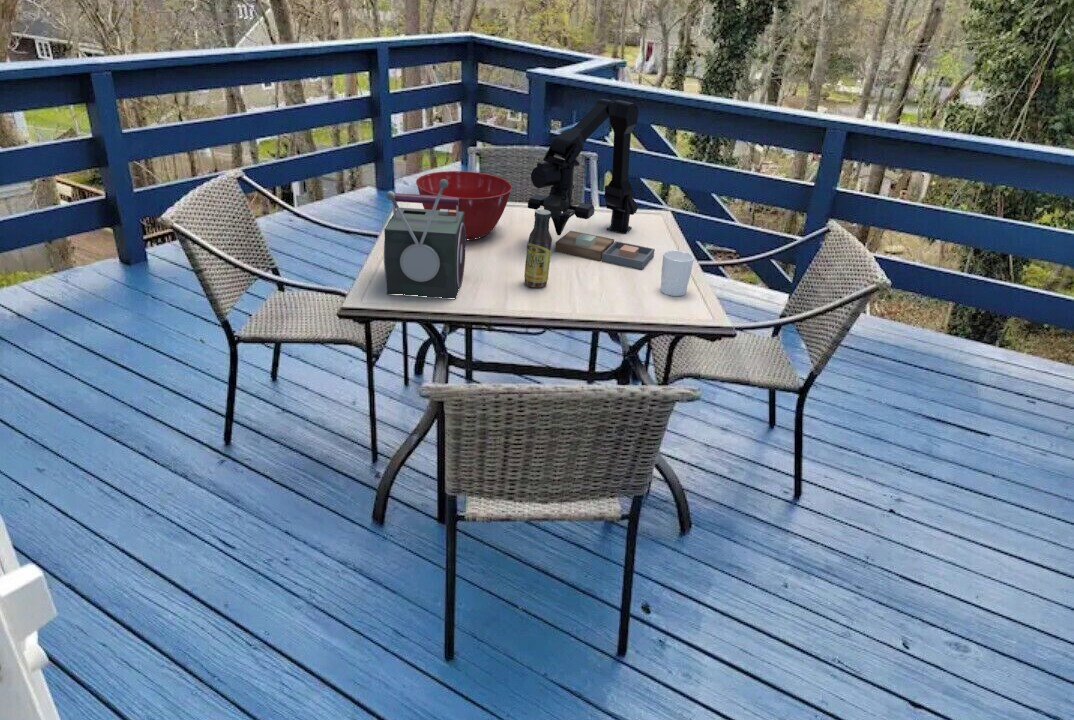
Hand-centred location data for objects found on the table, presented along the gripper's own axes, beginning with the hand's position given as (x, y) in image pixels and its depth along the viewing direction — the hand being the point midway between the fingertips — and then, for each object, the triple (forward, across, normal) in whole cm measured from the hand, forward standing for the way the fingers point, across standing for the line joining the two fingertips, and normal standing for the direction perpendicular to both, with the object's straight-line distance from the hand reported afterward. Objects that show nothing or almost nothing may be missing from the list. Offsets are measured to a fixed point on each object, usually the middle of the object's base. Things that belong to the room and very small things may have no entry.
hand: (558, 235), depth 220 cm
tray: (+4, +21, +2) cm, 22 cm away
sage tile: (+1, +8, 0) cm, 9 cm away
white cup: (+4, +38, -14) cm, 41 cm away
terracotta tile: (+1, +20, +4) cm, 21 cm away
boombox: (+4, -19, -43) cm, 48 cm away
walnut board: (+4, +8, +2) cm, 9 cm away
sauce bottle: (+4, +6, -28) cm, 29 cm away
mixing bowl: (+4, -30, -4) cm, 30 cm away
